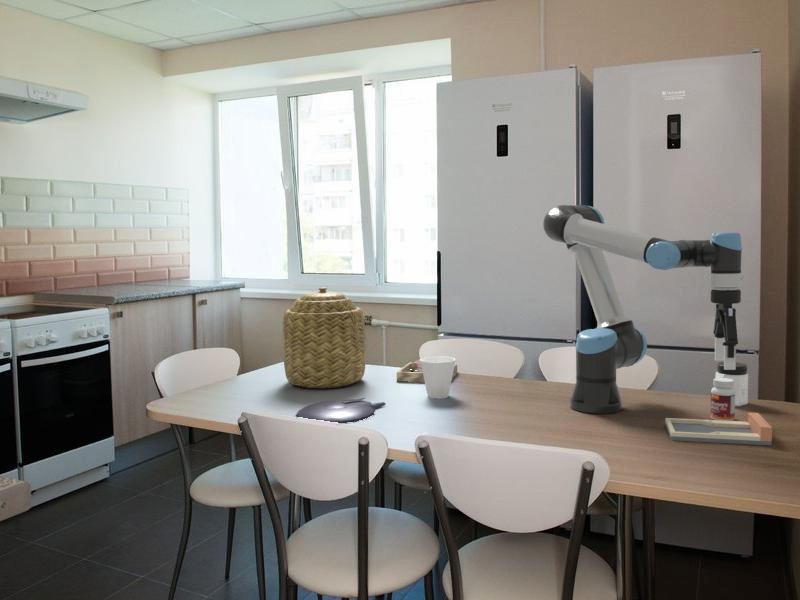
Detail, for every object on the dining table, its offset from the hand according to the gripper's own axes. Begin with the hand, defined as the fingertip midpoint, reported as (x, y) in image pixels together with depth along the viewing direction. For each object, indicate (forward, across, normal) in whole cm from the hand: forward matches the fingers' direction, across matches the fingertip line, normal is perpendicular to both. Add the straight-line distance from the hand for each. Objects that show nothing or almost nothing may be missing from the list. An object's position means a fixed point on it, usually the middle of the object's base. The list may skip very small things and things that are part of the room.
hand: (724, 364), depth 191 cm
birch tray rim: (+14, +42, +94) cm, 104 cm away
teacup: (+15, +42, +95) cm, 105 cm away
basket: (+14, +27, +129) cm, 133 cm away
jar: (+16, +20, -6) cm, 26 cm away
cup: (+15, +13, +84) cm, 87 cm away
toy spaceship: (+15, -12, +109) cm, 111 cm away
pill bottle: (+16, 0, 0) cm, 16 cm away
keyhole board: (+16, -16, +5) cm, 23 cm away
